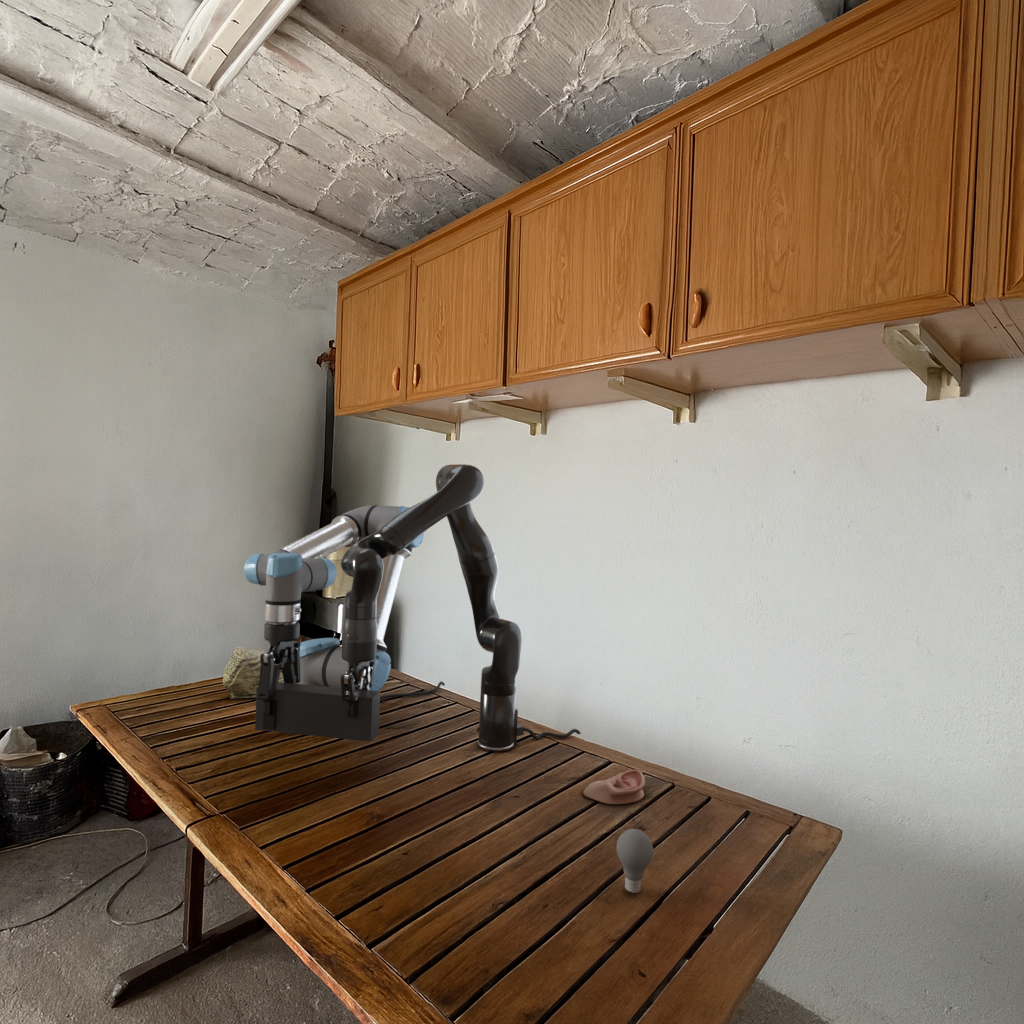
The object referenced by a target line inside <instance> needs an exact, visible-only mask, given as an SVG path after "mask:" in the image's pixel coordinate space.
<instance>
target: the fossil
mask: <svg viewBox="0 0 1024 1024" xmlns="http://www.w3.org/2000/svg"><path fill="white" fill-rule="evenodd" d="M262 653H263V654H266V653H267V652H265V650H264V649H263V648H260V647H258V648H251V647H247V646H246V647H245V646H238V647H237V648H236V649H235V650H233V651H232V653H231V656H230V657H229V659H228V660H227V663H226V666H225V668H224V671H223V675H222V676H223V677H222V685H223V687H224V688H225V690H226V691H228V693H229V698H230V699H250V698H256V689H257V687H258V686H259V677H260V668H261V661H260V655H261V654H262ZM274 665H276V664H274ZM278 682H282V683H284V680H283V674H282V671H281V672H280V676H279V681H278Z"/></svg>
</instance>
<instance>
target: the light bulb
mask: <svg viewBox="0 0 1024 1024" xmlns="http://www.w3.org/2000/svg"><path fill="white" fill-rule="evenodd" d="M615 849H616V854H617V857H618V859H619V861H620V863H621V865H622V867H623V873H624V874H623V875H624V876H625V878H624V888H625V890H627V891H628V892H630V893H634V894H635V893H639V892H640V891H641V889H642V887H641V886H642V879H643V877H644V875H645V871H646V868H647V867H648V866H649V864H650V863H651V861H652V859H653V855H654V847H653V843H652V841H651V838H649V836H648V835H647V834H646V833H645V832H643V831H642V830H641V829H636V828H629V829H627V830H625V831H623V832H622V833H621V834H620V835H619V837H618V839H617V841H616V847H615Z"/></svg>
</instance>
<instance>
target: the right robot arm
mask: <svg viewBox="0 0 1024 1024" xmlns="http://www.w3.org/2000/svg"><path fill="white" fill-rule="evenodd" d="M484 478H485V477H484V475H483V473H482V472H481V470H480V469H479V468H478V467H477V466H475V465H471V464H466V463H465V464H464V463H463V464H461V463H460V464H458V463H457V464H447V465H444V466H442V467H441V468H440V469H439V470H438V471H437V474H436V476H435V487H436V492H435V493H434V494H431V496H429V497H428V498H426V499H424V500H422V501H420V502H418V503H416V504H414V505H412V506H410V508H408V509H406V510H405V511H403V512H401V513H400V514H398V515H397V516H395V517H394V518H393V519H392V520H390V521H389V522H388V523H386V524H385V525H384V526H383V527H382V528H380V529H379V530H378V531H377V532H375V533H373V534H371V535H369V536H367V537H365V538H364V539H362V540H360V541H358V542H357V543H355V544H354V545H352V546H351V547H348V548H347V549H346V550H345V551H344V553H343V555H342V556H341V559H340V566H341V569H342V571H343V572H344V573H345V575H347V576H348V577H351V578H352V584H351V589H350V590H348V591H347V592H346V593H345V597H344V606H343V610H344V611H343V622H342V629H341V631H342V632H341V646H342V659H343V660H345V661H347V662H348V668H347V672H346V675H343V674H342V675H341V691H342V700H345V701H347V718H353V719H355V718H356V717H357V712H358V696H359V691H361V690H370V689H369V688H372V685H373V675H374V667H375V661H371V660H374V659H375V658H376V652H377V617H376V616H377V596H378V593H379V590H380V586H381V581H382V577H383V571H384V565H383V560H382V559H384V558H385V557H388V556H393V555H396V554H398V553H399V552H401V551H402V550H403V549H404V548H406V547H407V546H408V545H409V544H410V543H412V542H413V541H414V540H415V539H416V538H418V537H419V536H420V535H421V534H423V533H424V534H425V532H427V531H428V530H430V528H432V527H434V526H435V525H436V524H438V522H441V520H443V519H445V518H447V521H448V524H449V527H450V531H451V534H452V538H453V542H454V545H455V549H456V553H457V558H458V562H459V565H460V568H461V572H462V576H463V579H464V582H465V586H466V590H467V594H468V598H469V601H470V605H471V610H472V616H473V623H474V630H475V634H476V635H475V636H476V639H477V642H478V644H479V646H480V647H481V649H483V650H484V651H485V652H488V653H491V654H492V661H491V664H489V665H485V666H484V667H483V668H481V669H482V670H481V676H480V699H479V718H478V719H479V720H478V721H479V722H478V727H476V733H478V739H477V746H478V747H479V748H480V749H482V750H484V751H487V752H493V753H494V752H495V753H501V752H507V751H510V750H512V749H513V748H514V747H515V746H517V744H518V743H517V740H518V738H517V737H521V736H524V735H525V732H527V733H529V734H530V736H531V738H533V739H534V740H540V739H542V737H546V736H547V737H553V738H556V739H566V738H568V737H570V736H571V735H573V734H574V733H576V734H577V735H581V731H580V730H579V729H577V728H572V729H571V730H569V731H568V732H566V733H564V734H563V733H562V734H561V733H560V734H559V733H554V732H550V731H543V732H541V733H539V734H538V735H536V734H535V732H534V731H533V730H532V729H530V728H528V727H525V726H524V725H522V724H520V723H518V718H519V710H518V707H517V708H516V700H517V699H516V698H517V696H516V695H517V675H518V673H519V671H520V669H521V668H520V667H521V659H522V648H523V632H522V629H521V626H520V625H519V624H518V623H517V622H515V621H512V620H509V619H505V618H502V617H501V616H500V614H499V610H498V607H497V603H496V599H495V598H496V597H495V593H496V588H497V584H498V579H499V565H498V560H497V557H496V552H495V549H494V546H493V544H492V542H491V539H490V538H489V536H488V535H487V533H486V532H485V530H484V529H483V528H482V526H481V525H480V523H479V521H478V520H477V519H476V517H475V515H474V514H475V513H474V512H473V509H472V506H471V505H472V504H471V502H473V501H475V500H476V499H477V498H478V497H480V495H481V494H482V492H483V491H484V487H485V479H484ZM354 685H357V686H354ZM346 691H347V692H346Z"/></svg>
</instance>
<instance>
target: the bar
mask: <svg viewBox="0 0 1024 1024" xmlns="http://www.w3.org/2000/svg"><path fill="white" fill-rule="evenodd" d="M346 692H347V691H346ZM257 695H258V687H257V689H256V697H255V724H254V730H256V731H262V732H272V733H281V734H283V733H284V734H292V735H301V736H302V735H303V736H311V737H319V738H320V737H322V738H331V739H338V740H339V739H340V740H351V741H358V742H359V741H360V742H368V743H369V742H370V743H371V742H373V740H374V739H375V738H376V737H377V736H379V734H380V716H381V715H380V714H381V699H380V696H381V691H380V690H379V691H370V690H361V691H359V696H358V712H357V717H356V718H355V719H353V718H347V701H345V700H342V691H341V688H337V687H326V686H315V685H304V684H293V683H282V682H278V685H277V690H276V694H275V699H277V712H276V729H275V730H269V729H263V705H264V701H263V700H258V699H257Z"/></svg>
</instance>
